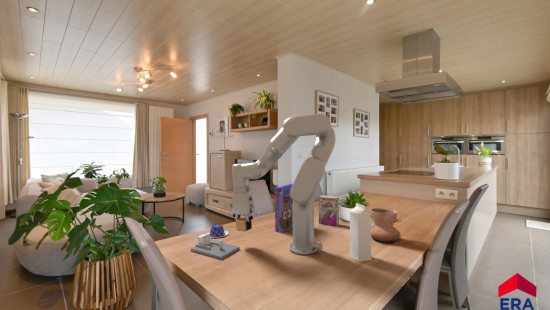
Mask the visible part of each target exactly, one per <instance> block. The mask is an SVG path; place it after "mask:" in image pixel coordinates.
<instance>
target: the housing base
mask: <svg viewBox="0 0 550 310" xmlns="http://www.w3.org/2000/svg"><path fill="white" fill-rule="evenodd" d="M223 241H224V239H222V238H221V239H218V241H216V240H212V239H210V244H209V245H207V246H205V245H201V244H198V243H195V246H193V247H191V248H190V252H193V253H195V254H200V255H202V256H203V255H204V256H207V257H210V258H214V259H219V260H224V259H225V258H227V257H228V256H230V255H233V254H234V253H235V252H238V251H239V250H241V249H240V248H241V247H240V246H238V245H234V244H231V243H225V242H223Z"/></svg>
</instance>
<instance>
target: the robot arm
mask: <svg viewBox="0 0 550 310" xmlns="http://www.w3.org/2000/svg"><path fill="white" fill-rule="evenodd" d="M308 136H315V140H314V141H315V142H314V144H313V145H312V147H311V150H310V152H309V154H308V156H307V158H306V159H305V160H304V161H303V162H302V164H301V167H300V169H299V171H298V173H297V175H296V177H295V179H294V180H293V183H292V184H293V185H292V187H291V190H290V195H291V198H292V199H293V227H292V243H290V245H289V251H290V252H291V253H294V254H297V255H312V254H315V253H316V252H317V251H318V250H324V249H323V248H324V246H323V243H321V242H317V239H316V238H315V193H316V191H317V189H318V187H319V186H320V183H321V181H322V179H323V178H324V175H325V172H326V166H327V164H328V162H329V159H330V157H331V155H332V153H333V151H334V148H335V145H336V132H335V130H334V128H333V125H332V122H331V119H330V118H329V116H328V115H326V114H323V113H315V114H305V115H295V116H294V115H293V116H290V117H287V118H286V119H284V121H283V123H282V127H281V128H280V130H278V132H276V134H275V135H274V136H273V137H272V138H271V140H269V142H268V144H267V148H266V149H265V150H264V152H263V154H262V155H260V157H259V158H258V159H257V161H254V162H250V163H245V162H244V163H234V164H232V166H231V172H232V173H231V175H232V187H233V189H232V191H233V192H232V195H231V196H232V197H231V207H232V208H231V209H230V214H231V215H232V217H233V218H234V221H236V220H237V219H239V218H242V216H244V217H246V219H247V222H246V229H247V230H248V231H250V230H251V228H253V227H252V226H253V225H252V221H253V219H254V218H255V216H257V215H258V213H257V212H256V210H255V202H254V197H253V193H252V192H251V191H252V187H250V180H257V179H260V178H262V177H264V176H265V175H266V174H268V172H269V171H270V170H271V169H272V168H273V166H274V165H275V164H276V163H277V162H278V161H279V160H280V159H281V158H282V157H283V156H284V155H285V153H286V152H287V151H288V150H289V149H290V147H291V146H292V145H293V144H295V142H296V141H298V139H299V138H300V137H308Z"/></svg>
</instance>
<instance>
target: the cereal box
mask: <svg viewBox="0 0 550 310" xmlns="http://www.w3.org/2000/svg"><path fill="white" fill-rule="evenodd" d="M292 185H293V183H289V184H286V185H282V186H278V187H275V188H274V227H275V228H274V230H275V231H274V232H276V233H277V232H278V233H282V234H283V233H285V232H286V231H288V230H290V229H293V199H292V198H291V195H290V190H291V187H292Z"/></svg>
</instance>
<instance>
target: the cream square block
mask: <svg viewBox="0 0 550 310" xmlns="http://www.w3.org/2000/svg"><path fill="white" fill-rule="evenodd" d="M210 237H211V236H210V234H206V233H203V234H200V235H197V244H201V245H205V246H207V245H209V244H210V240H211V238H210Z"/></svg>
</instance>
